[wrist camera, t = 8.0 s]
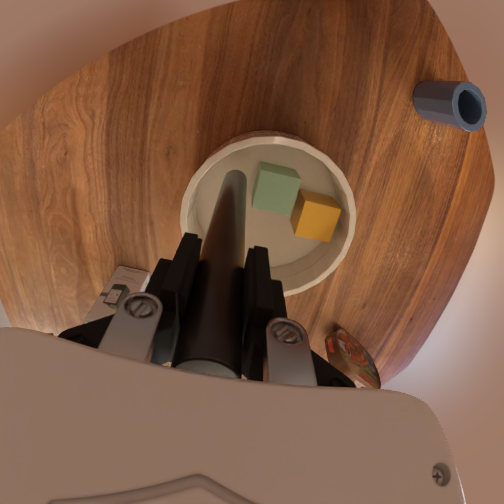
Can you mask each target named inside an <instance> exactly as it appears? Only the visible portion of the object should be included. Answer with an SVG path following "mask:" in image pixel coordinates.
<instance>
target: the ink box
mask: <svg viewBox="0 0 504 504" xmlns="http://www.w3.org/2000/svg"><path fill="white" fill-rule="evenodd" d="M148 282H149V272H147V271H143V270H138V269H134V268H129V267H124V266H118V268H117V269H116V271H115V272H114V274H113V275H112V277H111V278H110V280H109V281H108V283H107V284H106V286H105V288H104V289H103V291H102V292H101V294H100V296H99V297H98V299H97V300H96V302H95V303H94V305H93V307H92V308H91V310H90V311H89V313H88V315H87V316H86V318H85V320H84V322H85V323H88V322H91V321H94V320H97V319H100V318H103V317H106V316H109V315H112V314H115V312H116V310H117V308H118V306H119V304H120V302H121V301H122V300H123V298H124V297H126V296H127V295H129V294H132V293H135V292H144V291H145V288H146V286H147V284H148ZM85 323H84V324H85Z"/></svg>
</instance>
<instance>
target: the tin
mask: <svg viewBox="0 0 504 504" xmlns="http://www.w3.org/2000/svg"><path fill="white" fill-rule="evenodd" d="M325 346H326V352H327V357H328V361H329V363H330V364H331V365H332V366H334V367H335V368H336V369H338V370H339V371H340V372H342V373H343V374H344V375H346V376H347V377H349V378H350V379H351V380H352V381H353V382H354V384H355V385H356V387H357V388H361V387H365V388H374V389H380V388H381V381H380V377H379V373H378V371H377V368H376V366H375V364H374V362H373V360H372V358H371V356H370V355H369V353H368V352H367V351H366V350H365V349H364V348H363V347H362V346H361V345H360V344H359V343H358V342H357V341H356V340H355V339H354V338H353V337H352V336H351V335H349V334H348V333H347V332H346V331H345V330H344V329H341V328H340V329H338V330H337V331H335V332H334V333H332V334H330V335H329V336H327V337H326V339H325Z"/></svg>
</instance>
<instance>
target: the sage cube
mask: <svg viewBox="0 0 504 504" xmlns="http://www.w3.org/2000/svg"><path fill="white" fill-rule="evenodd" d="M300 182H301V178H300V177H299V175H298V173H297V172H296V170H295V169H291V168H287V167H282V166H278V165H274V164H269V163H265V162H259V166H258V170H257V174H256V178H255V183H254V187H253V191H252V208H255V209H260V210H264V211H269V212H274V213H278V214H283V215H288V216H291V212H292V209H293V206H294V202H295V199H296V195H297V192H298V188H299V185H300Z"/></svg>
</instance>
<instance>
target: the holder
mask: <svg viewBox="0 0 504 504" xmlns="http://www.w3.org/2000/svg"><path fill="white" fill-rule="evenodd" d="M413 102H414V106H415V108H416V111H417V112H418V114H419V115H420V116H421V117H422V118H424V119H425V120H428V121H430V122H434V123H438V124H442V125H446V126H449V127H453V128H457V129H460V130H464V131H467V132H474V131H478V130H479V129H480V128H481V127H482V126H483V125H484V122H485V118H486V114H487V110H486V102H485V98H484V96H483V94H482V93H481V91H480V89H479V88H478V87H477V86H475V85H474V84H472V83H471V82H464V81H439V80H431V81H422V82H420V83H419V84H418V85H417V86H416V88H415V90H414V93H413Z"/></svg>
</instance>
